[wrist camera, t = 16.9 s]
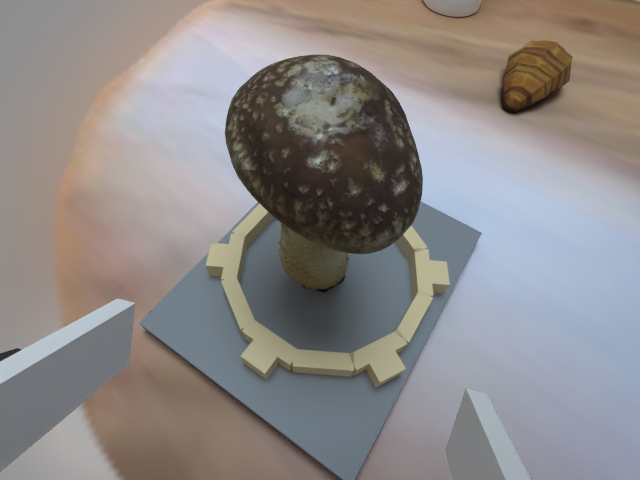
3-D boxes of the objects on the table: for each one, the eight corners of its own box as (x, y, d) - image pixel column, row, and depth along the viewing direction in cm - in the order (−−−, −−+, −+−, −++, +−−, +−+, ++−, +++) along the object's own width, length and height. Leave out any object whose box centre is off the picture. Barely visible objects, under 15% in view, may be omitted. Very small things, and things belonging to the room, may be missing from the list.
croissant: (537, 130, 39) (566, 88, 35) (476, 102, 41) (497, 59, 37) (574, 70, 45) (603, 28, 41) (520, 48, 47) (542, 6, 43)
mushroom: (269, 216, 30) (247, 16, 17) (379, 231, 29) (438, 39, 17) (239, 331, 25) (175, 167, 12) (372, 351, 24) (450, 202, 12)
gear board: (312, 155, 35) (313, 133, 33) (475, 241, 31) (489, 221, 29) (145, 329, 26) (130, 314, 23) (348, 485, 21) (355, 486, 19)
